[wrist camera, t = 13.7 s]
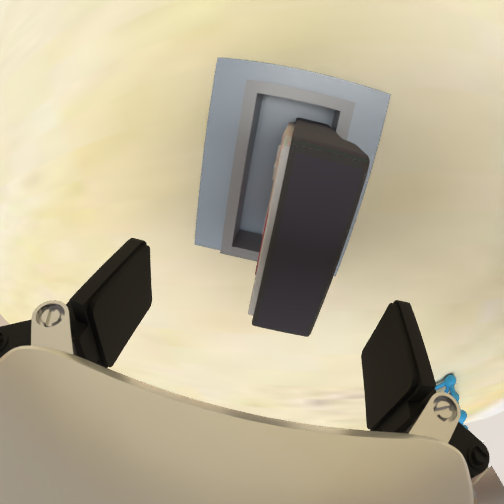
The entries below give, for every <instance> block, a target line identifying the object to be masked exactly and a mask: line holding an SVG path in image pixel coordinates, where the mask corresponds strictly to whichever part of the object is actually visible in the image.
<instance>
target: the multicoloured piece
mask: <svg viewBox="0 0 504 504" xmlns="http://www.w3.org/2000/svg"><path fill="white" fill-rule="evenodd" d="M369 164H370V159H369V156H368V155H367V154H366V153H365V152H364V151H362V150H361V149H360V148H359V147H358V146H357V145H356V144H354V143H352V142H349V141H347V140H344V139H342V138H341V137H340V136H339V135H338V134H337V133H336V132H335V131H334V130H333V129H332V128H331V127H330V126H329V125H328V124H324V123H320V122H316V121H312V120H308V119H303V118H296V122H289V124H288V126H287V128H286V130H285V132H284V134H283V137H282V142H281V145H279V146H278V151H277V156H276V161H275V164H274V172H273V177H272V180H274V182H273V187H272V192H271V197H270V201H269V206H268V208H267V213H266V218H265V223H264V228H263V233H262V235H263V237H262V242H261V247H260V252H259V257H258V262H257V267H256V272H255V275H256V277H255V282H254V286H253V291H252V296H251V301H250V306H249V311H248V314H249V315H253V320H252V325H254V326H258V327H262V328H266V329H271V330H276V331H281V332H285V333H290V334H295V335H301V336H309V335H310V334H311V331H312V329H313V326H314V324H315V322H316V319H317V317H318V314H319V312H320V309H321V307H322V304H323V302H324V299H325V297H326V294H327V292H328V289H329V286H330V284H331V281H332V278H333V276H334V273H335V270H336V267H337V265H338V262H339V259H340V256H341V254H342V251H343V248H344V245H345V242H346V239H347V236H348V233H349V230H350V227H351V224H352V221H353V218H354V215H355V212H356V209H357V205H358V202H359V199H360V196H361V192H362V189H363V186H364V182H365V179H366V176H367V172H368V168H369Z"/></svg>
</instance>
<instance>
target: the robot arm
mask: <svg viewBox="0 0 504 504" xmlns="http://www.w3.org/2000/svg"><path fill="white" fill-rule="evenodd" d="M151 303H152V290H151V268H150V247H149V246H147V244H146V242H145V241H143V240H139V239H135V238H131V239H129V240H128V241H127V242H126V243H125V244H124V245H123V246H122V247H121V248H120V249H119V250H118V251H117V252H116V253H115V254H114V255H113V256H112V257H110V258H109V259H108V260H107V261H106V262H105V263H104V264H103V265H102V266H101V267H100V268H99V269H98V270H97V271H96V272H95V274H94V275H93V276H92V277H91V278H90V279H89V280H88V281H87V282H86V283H85V284H84V285H83V286H82V287H81V288H80V289H79V290H78V291H77V292H76V293H75V294H74V295H73V297H72V298H71V299H70V301H69V302H68V303H67V304H66V305H65V304H64V303H62V302H61V301H56V300H55V301H47V302H44V303H42V304H41V305H39V306H38V307H37V308H36V309H35V310H34V312H33V314H32V320H28V321H23V322H19V323H15V324H10V325H6V326H1V327H0V504H504V486H503V484H502V483H501V481H500V479H499V478H498V476H497V474H496V473H495V471H494V469H493V467H492V466H491V467H489V468H488V464H489V452H488V450H487V448H486V446H485V445H484V444H483V443H482V442H481V441H480V440H479V439H478V438H476V437H475V436H474V435H473V434H472V433H471V432H470V431H469V430H468V429H467V428H465V427H464V426H463V425H462V424H461V423H460V422H459V419H460V415H461V412H460V407H459V404H458V403H457V401H456V399H455V398H454V397H453V396H451V395H450V394H448V393H445V392H437V393H436V390H435V387H436V384H435V380H434V376H433V372H432V369H431V365H430V362H429V358H428V355H427V352H426V349H425V345H424V342H423V339H422V336H421V333H420V330H419V327H418V324H417V321H416V318H415V316H414V313H413V310H412V307H411V305H410V303H408V302H403V301H398V300H396V301H394V303H390V304H389V305H388V307H387V309H386V311H385V313H384V315H383V316H382V318H381V320H380V322H379V323H378V325H377V327H376V329H375V330H374V332H373V334H372V336H371V337H370V339H369V341H368V342H367V344H366V346H365V347H364V349H363V351H362V356H361V359H362V369H363V379H364V391H365V404H366V420H367V428H368V429H370V431H364V430H353V429H342V428H332V427H324V426H316V425H309V424H302V423H296V422H290V421H284V420H279V419H273V418H268V417H263V416H258V415H254V414H249V413H245V412H240V411H236V410H232V409H228V408H224V407H220V406H216V405H213V404H209V403H205V402H202V401H198V400H195V399H192V398H188V397H185V396H182V395H179V394H175V393H172V392H169V391H166V390H163V389H160V388H157V387H155V386H152V385H149V384H146V383H144V382H141V381H138V380H136V379H133V378H130V377H128V376H125V375H123V374H120V373H117V372H115V371H112V370H110V369H107V367H112V366H113V364H114V363H115V361H116V359H117V358H118V356H119V355H120V353H121V351H122V350H123V348H124V347H125V345H126V344H127V342H128V340H129V339H130V337H131V336H132V334H133V333H134V331H135V329H136V328H137V326H138V325H139V323H140V322H141V320H142V319H143V317H144V316H145V314H146V313H147V311H148V310H149V308H150V306H151Z"/></svg>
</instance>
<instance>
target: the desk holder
mask: <svg viewBox="0 0 504 504" xmlns="http://www.w3.org/2000/svg"><path fill="white" fill-rule="evenodd" d="M389 99H390V94H388V93H385V92H382V91H379V90H376V89H373V88H370V87H367V86H364V85H360V84H357V83H354V82H350V81H347V80H343V79H339V78H336V77H332V76H328V75H324V74H320V73H316V72H311V71H307V70H302V69H297V68H292V67H287V66H281V65H275V64H269V63H263V62H256V61H248V60H240V59H231V58H220V57H218V59H217V65H216V71H215V77H214V83H213V89H212V96H211V103H210V109H209V116H208V124H207V131H206V139H205V146H204V155H203V163H202V172H201V181H200V191H199V201H198V211H197V222H196V234H195V245H199V246H204V247H208V248H212V249H217V250H221V252H220V253H222V254H227V255H231V256H235V257H240V258H244V259H249V260H253V261H257V262H258V257H259V252H260V247H261V242H262V237H263V235H262V233H263V228H264V223H265V218H266V213H267V208H268V206H269V201H270V197H271V192H272V187H273V182H274V180H272V177H273V172H274V164H275V161H276V156H277V151H278V146H279V145H281V142H282V137H283V134H284V132H285V130H286V128H287V126H288V124H289V122H296V118H303V119H308V120H312V121H316V122H320V123H324V124H328V125H329V126H330V127H331V128H332V129H333V130H334V131H335V132H336V133H337V134H338V135H339V136H340V137H341V138H342V139H344V140H347V141H349V142H352V143H354V144H356V145H357V146H358V147H359V148H360V149H361V150H362V151H364V152H365V153H366V154H367V155H368V156H369V159H370V164H369V168H368V172H367V176H366V179H365V182H364V186H363V189H362V192H361V196H360V199H359V202H358V205H357V209H356V212H355V215H354V218H353V221H352V224H351V227H350V230H349V233H348V236H347V239H346V242H345V245H344V248H343V251H342V254H341V256H340V259H339V262H338V265H337V267H336V270H335V273H334V276H336V274H337V271H338V268H339V266H340V263H341V260H342V258H343V255H344V252H345V249H346V247H347V244H348V241H349V238H350V235H351V232H352V229H353V226H354V223H355V220H356V217H357V214H358V211H359V208H360V205H361V202H362V199H363V196H364V193H365V189H366V186H367V183H368V179H369V176H370V173H371V169H372V166H373V162H374V159H375V155H376V151H377V148H378V144H379V140H380V136H381V132H382V129H383V125H384V120H385V116H386V112H387V108H388V104H389Z"/></svg>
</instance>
